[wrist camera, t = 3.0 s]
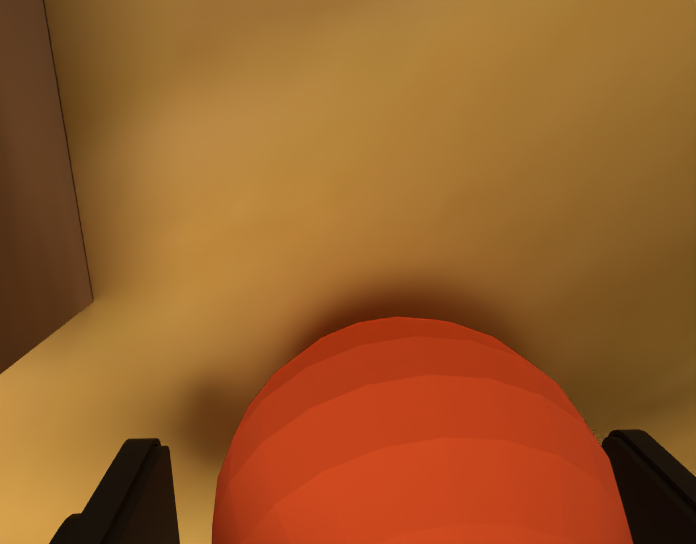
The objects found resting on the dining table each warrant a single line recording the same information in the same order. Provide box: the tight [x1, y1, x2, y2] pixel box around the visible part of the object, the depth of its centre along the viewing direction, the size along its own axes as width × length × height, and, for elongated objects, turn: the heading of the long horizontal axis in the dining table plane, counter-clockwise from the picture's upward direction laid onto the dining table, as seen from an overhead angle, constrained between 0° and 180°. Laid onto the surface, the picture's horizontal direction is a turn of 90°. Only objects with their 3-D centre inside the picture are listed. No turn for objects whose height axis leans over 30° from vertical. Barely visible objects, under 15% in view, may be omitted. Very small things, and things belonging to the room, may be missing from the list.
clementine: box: [212, 316, 633, 544], centre depth 8 cm, size 8×7×7 cm
